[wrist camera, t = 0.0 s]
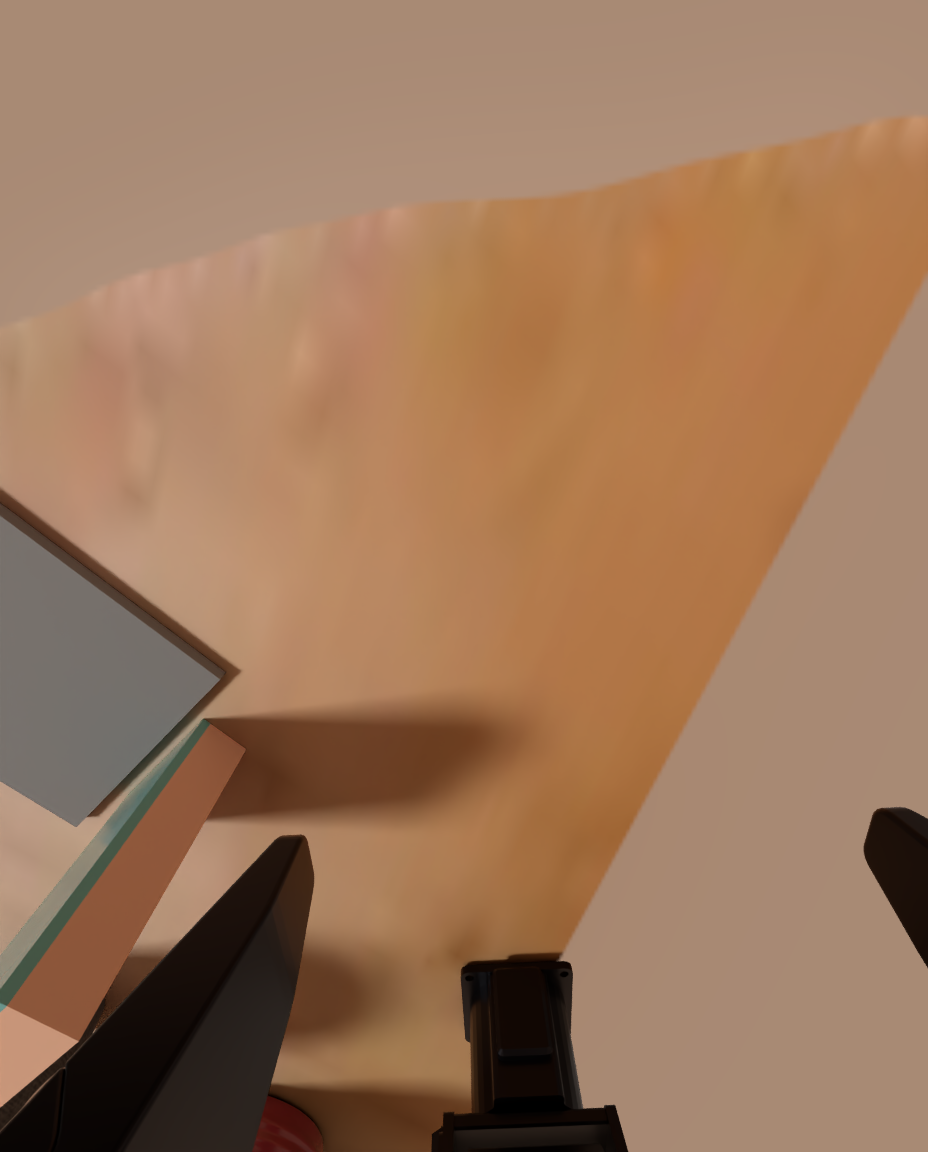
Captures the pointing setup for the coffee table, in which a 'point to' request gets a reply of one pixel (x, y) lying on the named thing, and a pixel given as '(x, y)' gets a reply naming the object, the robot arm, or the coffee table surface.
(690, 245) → the coffee table surface
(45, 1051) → the tile
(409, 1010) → the coffee table surface
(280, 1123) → the canister
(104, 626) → the mat
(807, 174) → the coffee table surface
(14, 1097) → the coffee cup
